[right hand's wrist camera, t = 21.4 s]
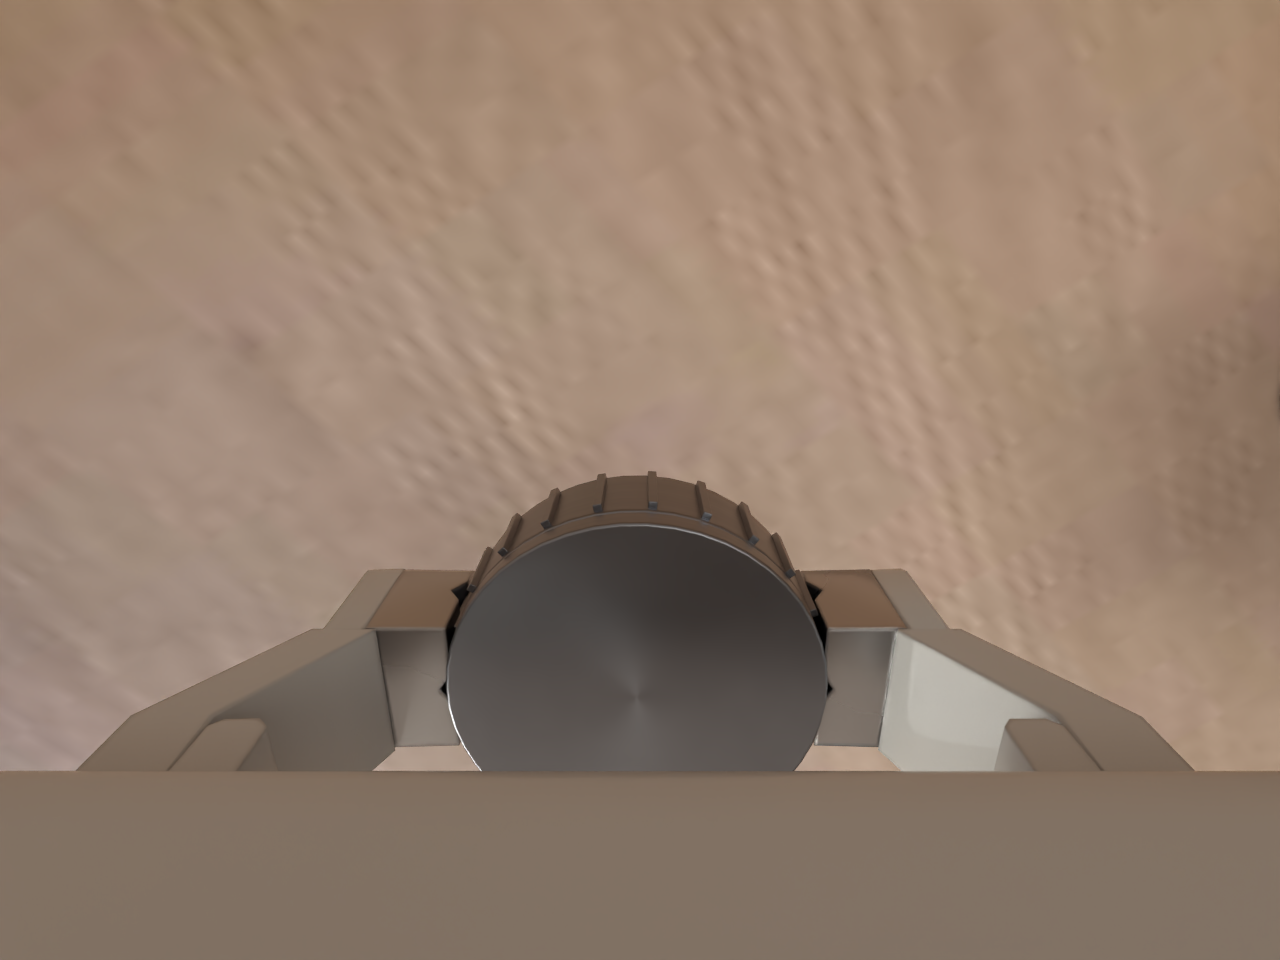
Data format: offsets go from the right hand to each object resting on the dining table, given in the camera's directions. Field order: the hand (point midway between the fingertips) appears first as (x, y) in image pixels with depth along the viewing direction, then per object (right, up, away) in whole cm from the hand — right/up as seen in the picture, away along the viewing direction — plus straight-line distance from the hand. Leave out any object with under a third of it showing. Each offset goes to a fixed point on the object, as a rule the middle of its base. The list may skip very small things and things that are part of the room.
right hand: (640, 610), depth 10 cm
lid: (0, -1, -1) cm, 2 cm away
